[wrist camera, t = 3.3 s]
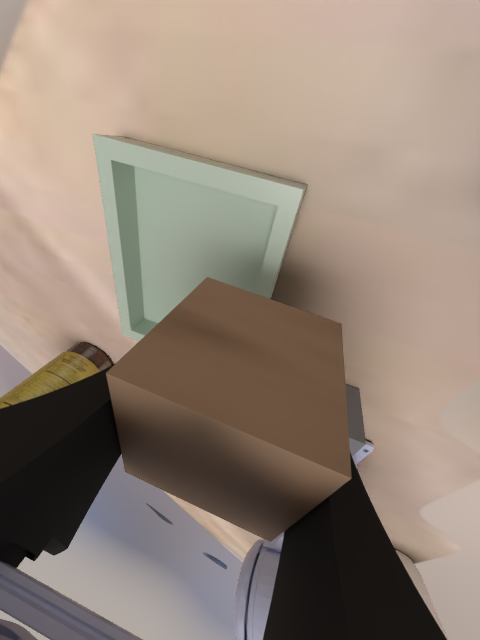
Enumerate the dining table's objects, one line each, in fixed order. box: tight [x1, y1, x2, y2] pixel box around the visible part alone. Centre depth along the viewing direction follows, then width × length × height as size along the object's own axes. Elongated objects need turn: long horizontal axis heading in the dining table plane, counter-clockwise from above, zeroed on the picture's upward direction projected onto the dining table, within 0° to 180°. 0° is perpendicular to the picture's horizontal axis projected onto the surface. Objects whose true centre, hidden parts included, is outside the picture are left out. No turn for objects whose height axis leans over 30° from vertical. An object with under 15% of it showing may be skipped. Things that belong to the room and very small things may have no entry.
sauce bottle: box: [0, 343, 112, 409], centre depth 23 cm, size 6×6×20 cm
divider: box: [345, 384, 366, 457], centre depth 20 cm, size 2×8×5 cm, turn 79°
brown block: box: [106, 277, 352, 542], centre depth 10 cm, size 6×6×6 cm
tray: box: [93, 134, 307, 341], centre depth 18 cm, size 15×12×2 cm
